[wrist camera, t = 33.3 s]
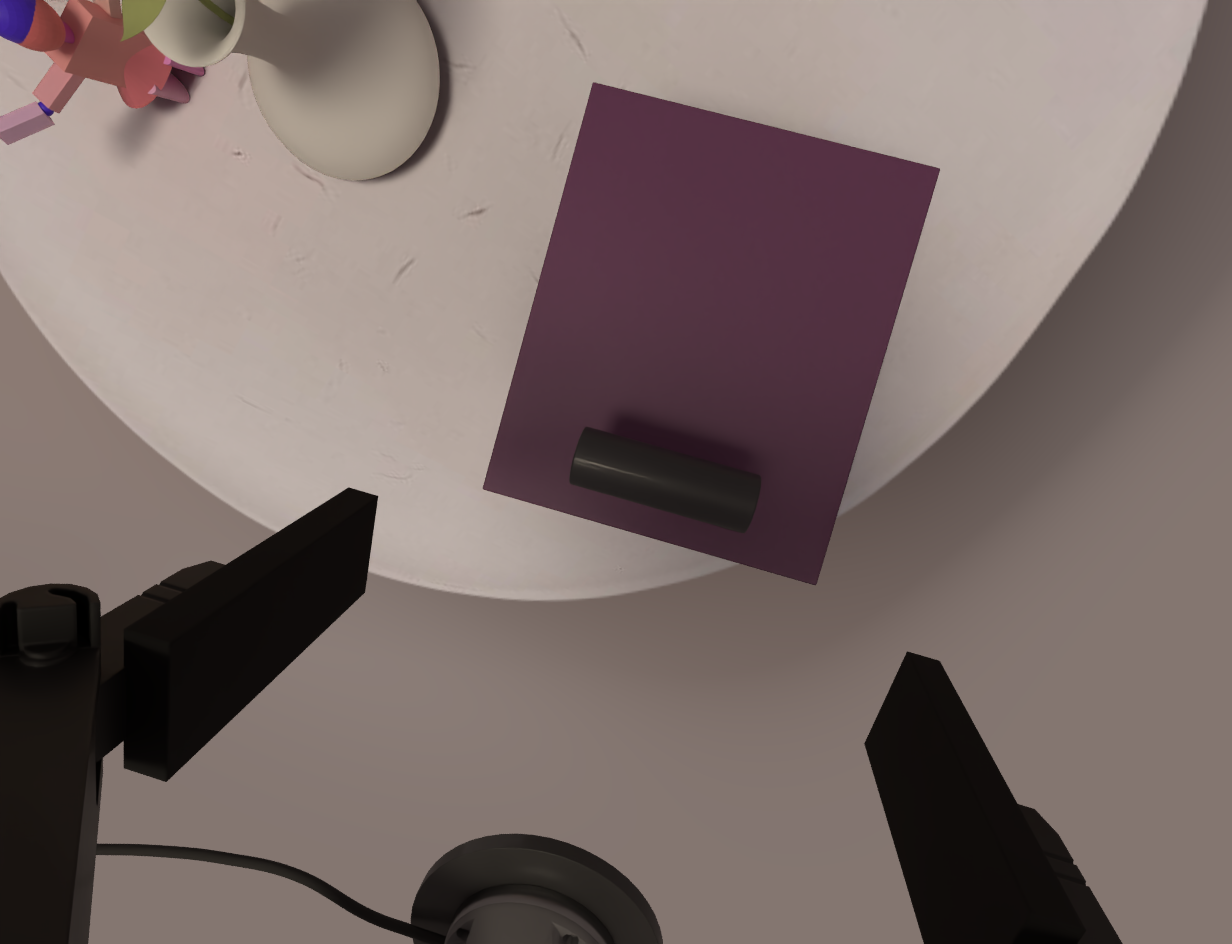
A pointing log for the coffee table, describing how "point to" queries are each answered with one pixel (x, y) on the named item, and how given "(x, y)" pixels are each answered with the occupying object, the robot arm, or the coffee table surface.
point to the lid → (709, 330)
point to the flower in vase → (315, 70)
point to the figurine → (84, 59)
